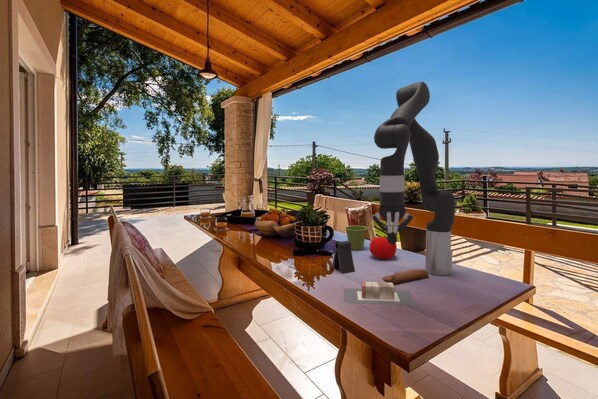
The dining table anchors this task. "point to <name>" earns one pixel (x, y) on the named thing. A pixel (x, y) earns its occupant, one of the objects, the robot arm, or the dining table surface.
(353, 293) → the rubber mat
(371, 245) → the tomato
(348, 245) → the phone stand
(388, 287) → the ash block
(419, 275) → the sunglasses case
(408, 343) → the dining table surface
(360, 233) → the plant pot
